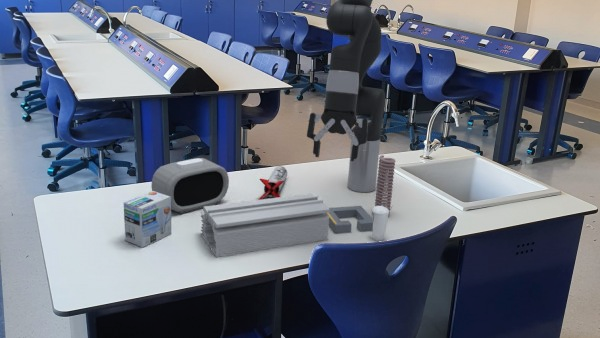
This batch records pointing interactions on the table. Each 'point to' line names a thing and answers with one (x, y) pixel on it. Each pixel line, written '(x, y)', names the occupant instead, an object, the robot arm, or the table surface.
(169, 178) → the alarm clock
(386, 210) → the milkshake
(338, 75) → the robot arm
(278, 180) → the model rocket
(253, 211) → the aluminum extrusion profile
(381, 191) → the coil
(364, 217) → the grey flat c-shaped piece
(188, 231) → the table surface
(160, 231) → the light bulb box
